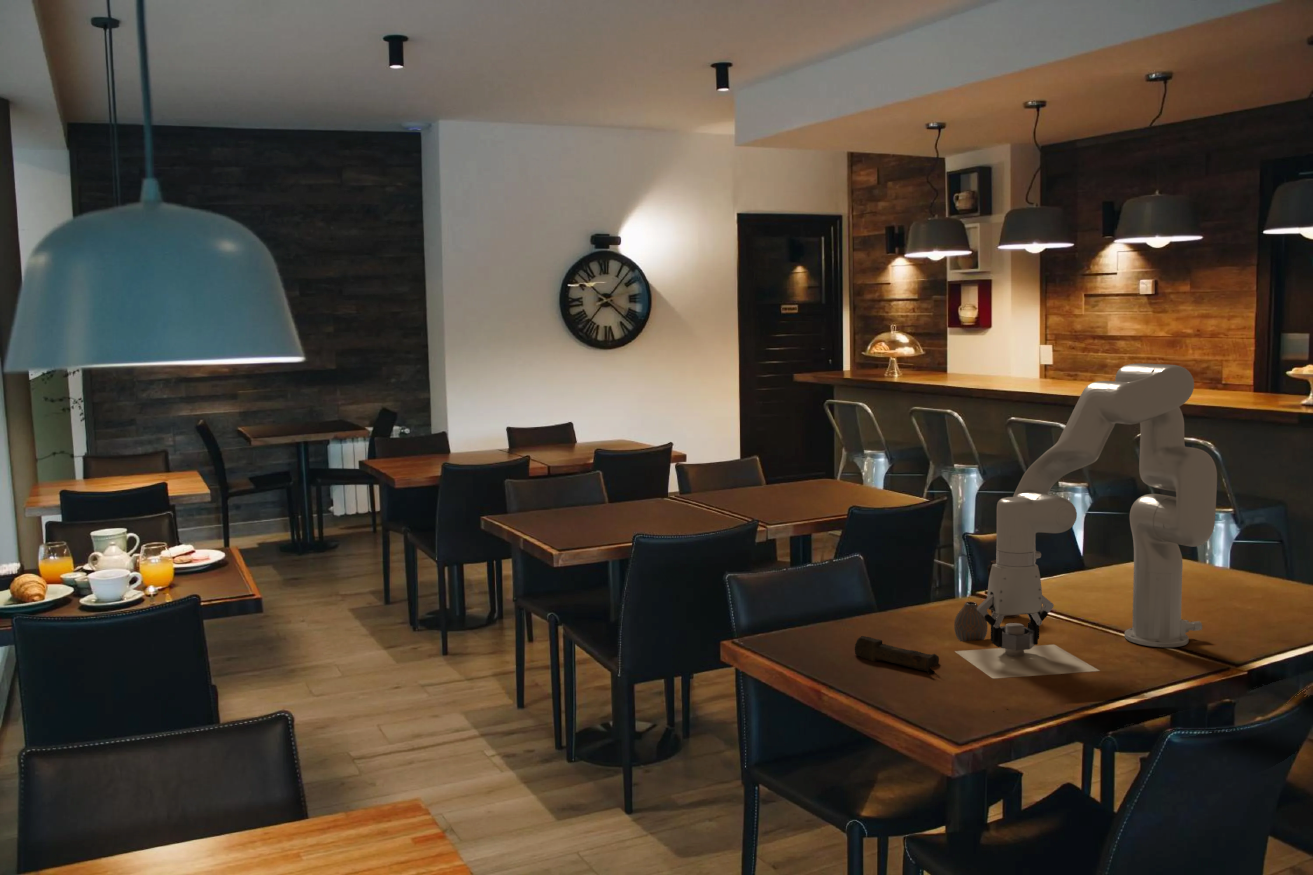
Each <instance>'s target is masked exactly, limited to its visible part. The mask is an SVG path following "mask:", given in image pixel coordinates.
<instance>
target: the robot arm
mask: <svg viewBox="0 0 1313 875" xmlns="http://www.w3.org/2000/svg"><path fill="white" fill-rule="evenodd" d="M1194 389H1195V380H1194V377H1193V375H1192V373H1191V372H1190V371H1189V370H1188V369H1187V368H1186V367H1183V366H1181V365H1177V364H1160V363H1159V364H1158V363H1130V364H1125V365H1123V366H1122V367H1120V368H1119V369H1118V370H1117V372H1116V374H1115V379H1114V381H1113V380H1112V381H1111V380H1099V381H1098V380H1097V381H1094V382H1091V383H1089V384H1087V385H1086V386H1085V388H1084V389H1083V390H1082V392H1081V394H1080V396H1079V397H1078V400H1077V403H1076V404H1075V406H1074V409H1072V413H1071V414H1070V416H1069V418H1068V420H1067V423H1066V425H1065V426H1064V428H1063V430H1062V432H1061V434H1060V437H1059V438H1058V440H1057V442H1056V443H1055V444H1054V445H1053V446H1051V447H1050V448H1049V449H1047V450H1046V451H1045V452H1044V453H1043V454H1042V455H1040V456H1039V457H1038V458H1037V459H1036V460H1035V461H1033V463H1032V464H1031V465H1030V466H1029V467H1028V468H1027V469H1026V471H1025V472H1024V473H1023V475H1022V477H1021V479H1020V480H1019V482H1018V485H1017V487H1016V489H1015V491H1014V493H1013V495H1012V496H1007V497H1002V498H1000V499H999V500H998V501H997V504H996V546H995V547H996V553H995V555H996V557H995V558H996V559H995V560H996V564H992V568H991V572H990V577H989V579H988V586H987V593H986V594H987V596H986V598H985V599H984V600H983V601H982V602H981V603H980V604H979V605H978V607H977V611H978V612H979V613H980V614H981V616H982V617H983V618H984V619H985V620H986V621H987V624H988V625H990V641H991V643H992V644H993V645H994V646H996V647H997V648H1001V646H1002V628H1000V627H1001V625H1002V622H1003V620H1004V618H1005V617H1004V616H1005V615H1019V616H1020V615H1027V616H1028V618H1029V621H1028V622H1027V628H1029V629H1031V630H1033V631H1035V634H1034V646H1038V644H1039V639H1040V626H1041V625H1042V624H1043V621H1044V620H1045V619H1046V618H1047V617H1048V615H1049V613H1050V612H1051V611H1052V610H1053V609H1054V606H1055V605H1054V603H1053V602H1051V601H1050V600H1049V599H1048V598H1047V597H1045V596H1044V595H1043V589H1042V580H1041V574H1040V569H1039V565H1038V564H1036V563H1037V560H1038V559H1041V557H1042V552H1041V551H1037V550H1036V534H1037V533H1041V534H1042V533H1043V534H1044V533H1046V534H1060V533H1065V532H1067V531H1068V530H1070V529H1071V528H1072V527H1074V525H1075V523H1076V521H1077V517H1078V513H1077V509H1076V507H1075V504H1073V503H1072V502H1071V501H1070V500H1069V499H1067V498H1066V497H1062V496H1058V495H1053V494H1050V493H1049V492H1050V491H1051V488H1052V487H1053V486H1054V485H1055V484H1056V483H1057V482H1058V481H1059V480H1060V479H1061V478H1063V477H1064V476H1066V475H1068V474H1069V473H1071V472H1074V471H1078V470H1079V469H1082V468H1085V467H1087V466H1089V465H1092V464H1094V463H1095V462H1097V461H1098V459H1099V458H1100V456H1101V453H1102V451H1103V450H1104V447H1105V445H1106V443H1107V441H1108V440H1109V439H1108V438H1109V437H1110V435H1111V433H1112V431H1113V429H1114V428H1115V425H1116V424H1122V425H1135V424H1136V425H1137V424H1139V426H1140V427H1139V428H1140V429H1139V430H1140V436H1139V437H1140V438H1139V440H1140V441H1139V460H1138V461H1139V464H1138V469H1139V477H1140V480H1142V482H1143V483H1144V484H1145V485H1147V486H1148V487H1152V488H1155V489H1160V490H1166V491H1169V492H1170V491H1171V492H1175V495H1176V496H1172V495H1167V494H1166V495H1165V494H1159V493H1149V494H1144V495H1142V496H1140V497H1138V498H1137V499H1136V500H1135V501H1134V502H1133V504H1132V505H1131V508H1130V511H1129V524H1130V531H1131V534H1132V540H1133V542H1132V544H1133V580H1132V581H1133V583H1132V584H1133V587H1132V588H1133V589H1132V590H1133V591H1132V594H1133V595H1132V627H1130V628H1128V629H1126V630H1125V631H1124V638H1125V639H1126V640H1127V641H1129V642H1130V643H1134V644H1138V645H1141V646H1147V647H1154V648H1178V647H1184V646H1186V645H1187V644H1188V643H1189V637H1190V636H1188V635H1187V634H1186V633H1189V631H1191V632H1192V631H1193V632H1195V631H1196V632H1197V631H1202V630H1203V624H1202V622H1201V621H1200V620H1198V621H1197V620H1196V621H1189V620H1188V619H1182V593H1183V592H1182V590H1183V589H1182V588H1183V564H1184V563H1183V555H1182V552H1181V548H1180V546H1186V547H1192V548H1193V547H1199V546H1202V545H1203V544H1206V543H1207V542H1208V541H1209V539H1210V538H1211V536H1212V534H1213V531H1214V527H1215V521H1216V508H1217V490H1218V487H1217V485H1218V471H1217V466H1216V463H1215V461H1214V459H1213V458H1212V456H1211V455H1210V454H1209V453H1208V452H1206V451H1205V450H1203V449H1200V448H1197V447H1192V446H1191V447H1190V446H1186V445H1185V444H1186V443H1185V420H1184V415H1183V412H1182V409H1181V406H1183V405H1184V404H1185V403H1186V402H1187V401H1189V399H1190V398H1191V396H1192V395H1193V392H1194ZM1179 545H1180V546H1179ZM988 610H990V611H991V610H992V611H993V613H992V614H989V612H988Z"/></svg>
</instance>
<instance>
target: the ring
mask: <svg viewBox="0 0 1313 875" xmlns="http://www.w3.org/2000/svg"><path fill="white" fill-rule="evenodd" d="M1000 628H1002V646H1001V647H1000V648H1005V649H1011V650H1028V649H1031V648H1032V647H1033V646H1035V645H1034V634H1035V631H1033V630H1031V629H1029V628H1028V626H1027V627H1026V626H1024V634H1017V635H1016V634H1009V633H1006V625H1002V626H1001V625H1000Z"/></svg>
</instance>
